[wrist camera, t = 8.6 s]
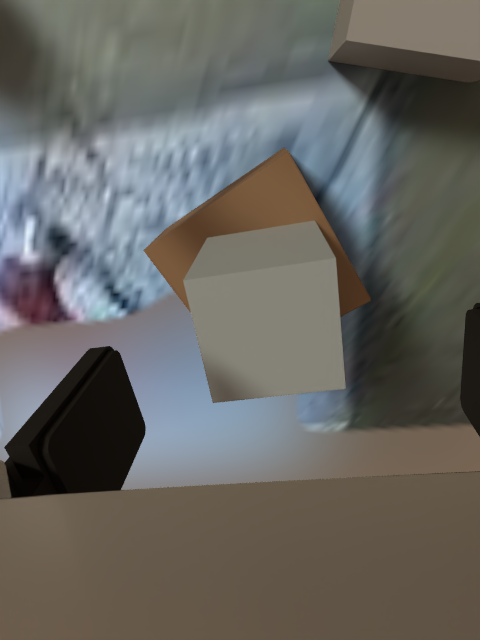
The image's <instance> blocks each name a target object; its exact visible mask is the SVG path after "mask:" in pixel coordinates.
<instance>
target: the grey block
mask: <svg viewBox="0 0 480 640" xmlns="http://www.w3.org/2000/svg"><path fill="white" fill-rule="evenodd" d="M328 61H331V62H337V63H344V64H350V65H357V66H363V67H370V68H376V69H383V70H389V71H396V72H402V73H409V74H415V75H422V76H428V77H435V78H441V79H448V80H454V81H461V82H467V83H471V82H475V81H479V80H480V0H340V3H339V8H338V13H337V18H336V23H335V28H334V33H333V38H332V43H331V48H330V53H329V58H328Z"/></svg>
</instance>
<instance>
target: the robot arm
mask: <svg viewBox="0 0 480 640" xmlns="http://www.w3.org/2000/svg"><path fill="white" fill-rule="evenodd" d="M460 400H461V405H462V409H463V411H464V413H465V414H466V416H467V417H468V419H469V421H470V422H471V424H472V425H473V427H474V429H475V430H476V432H477V433H478V435H479V436H480V303H476V304H475V305H474V308H473V309H471V310H468V311H467V313H466V319H465V334H464V349H463V364H462V379H461V394H460ZM144 436H145V422H144V420H143V417H142V414H141V411H140V408H139V405H138V403H137V400H136V397H135V394H134V392H133V389H132V386H131V383H130V381H129V377H128V375H127V372H126V369H125V366H124V363H123V360H122V358H121V355H120V353H119V352H118V351H114V349H113V348H112V347H110V346H107V347H99V348H90V349H89V350H88V351H87V352H86V353H85V354H84V355H83V357H82V358H81V359H80V360H79V361H78V362H77V364H76V365H75V366H74V367H73V368H72V369H71V371H70V372H69V373H68V374H67V375H66V377H65V378H64V379H63V380H62V381H61V382H60V383H59V384H58V386H57V387H56V388H55V389H54V390H53V391H52V393H51V394H50V395H49V396H48V397H47V399H46V400H45V401H44V402H43V403H42V404H41V406H40V407H39V408H38V409H37V410H36V411H35V412H34V414H33V415H32V416H31V417H30V418H29V419H28V421H27V422H26V423H25V424H24V425H23V426H22V428H21V429H20V430H19V431H18V432H17V433H16V435H15V436H14V437H13V438H12V439H11V441H9V443H8V444H7V445H6V446H5V449H6V451H7V453H8V455H9V456H10V457H9V458H8V459H7V461H6V462H5V463H4V462H3V461H1V460H0V640H480V471H477V472H458V473H457V472H456V473H437V474H436V473H435V474H416V475H415V474H414V475H393V476H372V477H352V478H332V479H314V480H313V479H312V480H294V481H274V482H255V483H238V484H219V485H204V486H203V485H202V486H184V487H167V488H150V489H135V490H121V488H122V486H123V484H124V481H125V479H126V477H127V475H128V472H129V470H130V468H131V466H132V463H133V461H134V458H135V456H136V454H137V452H138V450H139V447H140V445H141V443H142V440H143V438H144Z"/></svg>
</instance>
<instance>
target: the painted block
mask: <svg viewBox="0 0 480 640" xmlns="http://www.w3.org/2000/svg"><path fill="white" fill-rule="evenodd" d="M183 282H184V287H185V291H186V295H187V299H188V303H189V307H190V311H191V315H192V319H193V323H194V327H195V331H196V336H197V340H198V344H199V348H200V352H201V356H202V360H203V364H204V368H205V372H206V376H207V381H208V385H209V389H210V393H211V397H212V401H213V403H216V402H225V401H235V400H245V399H254V398H263V397H272V396H282V395H292V394H301V393H311V392H320V391H330V390H339V389H346V387H345V373H344V360H343V347H342V333H341V320H340V307H339V293H338V280H337V267H336V257H335V256H334V254H333V252H332V250H331V248H330V247H329V245H328V243H327V241H326V240H325V238H324V236H323V234H322V232H321V231H320V229H319V227H318V225H317V223H316V222H315V221H309V222H303V223H296V224H290V225H284V226H278V227H271V228H265V229H259V230H253V231H246V232H240V233H234V234H228V235H221V236H215V237H209V238H207V239H206V241H205V243H204V244H203V246H202V248H201V250H200V251H199V253H198V255H197V257H196V259H195V260H194V262H193V264H192V266H191V267H190V269H189V271H188V273H187V274H186V276H185V278H184V280H183Z"/></svg>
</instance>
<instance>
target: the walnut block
mask: <svg viewBox="0 0 480 640" xmlns="http://www.w3.org/2000/svg"><path fill="white" fill-rule="evenodd" d="M309 221H315V222H316V223H317V225H318V227H319V229H320V231H321V232H322V234H323V236H324V238H325V240H326V241H327V243H328V245H329V247H330V248H331V250H332V252H333V254H334V256H335V257H336V267H337V280H338V293H339V307H340V317H341V316H343V315H345V314H346V313H348V312H350V311H352V310H354V309H356V308H358V307H360V306H362V305H364V304H365V303H367V302H369V301H371V298H370V296H369V295H368V293H367V291H366V289H365V287H364V286H363V284H362V282H361V280H360V278H359V277H358V275H357V273H356V271H355V269H354V268H353V266H352V264H351V262H350V261H349V259H348V257H347V255H346V253H345V252H344V250H343V248H342V246H341V244H340V243H339V241H338V239H337V237H336V235H335V234H334V232H333V230H332V228H331V226H330V225H329V223H328V221H327V219H326V217H325V216H324V214H323V212H322V210H321V209H320V207H319V205H318V203H317V201H316V200H315V198H314V196H313V194H312V192H311V191H310V189H309V187H308V185H307V183H306V182H305V180H304V178H303V176H302V174H301V173H300V171H299V169H298V167H297V166H296V164H295V162H294V160H293V158H292V157H291V155H290V153H289V151H288V150H286V149H285V148H283V149H281V150H280V151H278V152H277V153H275V154H274V155H273V156H271V157H270V158H268V159H267V160H265V161H264V162H262V163H261V164H259V165H258V166H257V167H255V168H254V169H252V170H251V171H249V172H248V173H246V174H245V175H243V176H242V177H241V178H239V179H238V180H236V181H235V182H233V183H232V184H230V185H229V186H227V187H226V188H225V189H223V190H222V191H220V192H219V193H217V194H216V195H214V196H213V197H211V198H210V199H209V200H207V201H206V202H204V203H203V204H201V205H200V206H198V207H197V208H195V209H194V210H193V211H191V212H190V213H188V214H187V215H185V216H184V217H182V218H181V219H179V220H178V221H177V222H175V223H174V224H172V225H171V226H169V227H168V228H166V229H165V230H164V231H163V232H162V233H161V234H160V235H159V236H158V237H157V238H156V239H155V240H154V241H153V242H152V243H151V244H150V245H149V246H148V247H147V248H146V249H145V250H144V252H145V253H146V254H147V256H148V257H149V258H150V260H151V261H152V262H153V264H154V265H155V266H156V268H157V269H158V270H159V271H160V273H161V274H162V275H163V277H164V278H165V279H166V281H167V282H168V283H169V285H170V286H171V287H172V289H173V290H174V291H175V293H176V294H177V295H178V297H179V298H180V299H181V300H182V302H183V303H184V305H185V306H186V307H187V308H188V310H189V311H190V307H189V303H188V299H187V295H186V291H185V287H184V282H183V280H184V278H185V276H186V274H187V273H188V271H189V269H190V267H191V266H192V264H193V262H194V260H195V259H196V257H197V255H198V253H199V251H200V250H201V248H202V246H203V244H204V243H205V241H206V239H207V238H209V237H215V236H221V235H228V234H234V233H240V232H246V231H253V230H259V229H265V228H271V227H278V226H284V225H290V224H296V223H303V222H309ZM190 312H191V311H190Z"/></svg>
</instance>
